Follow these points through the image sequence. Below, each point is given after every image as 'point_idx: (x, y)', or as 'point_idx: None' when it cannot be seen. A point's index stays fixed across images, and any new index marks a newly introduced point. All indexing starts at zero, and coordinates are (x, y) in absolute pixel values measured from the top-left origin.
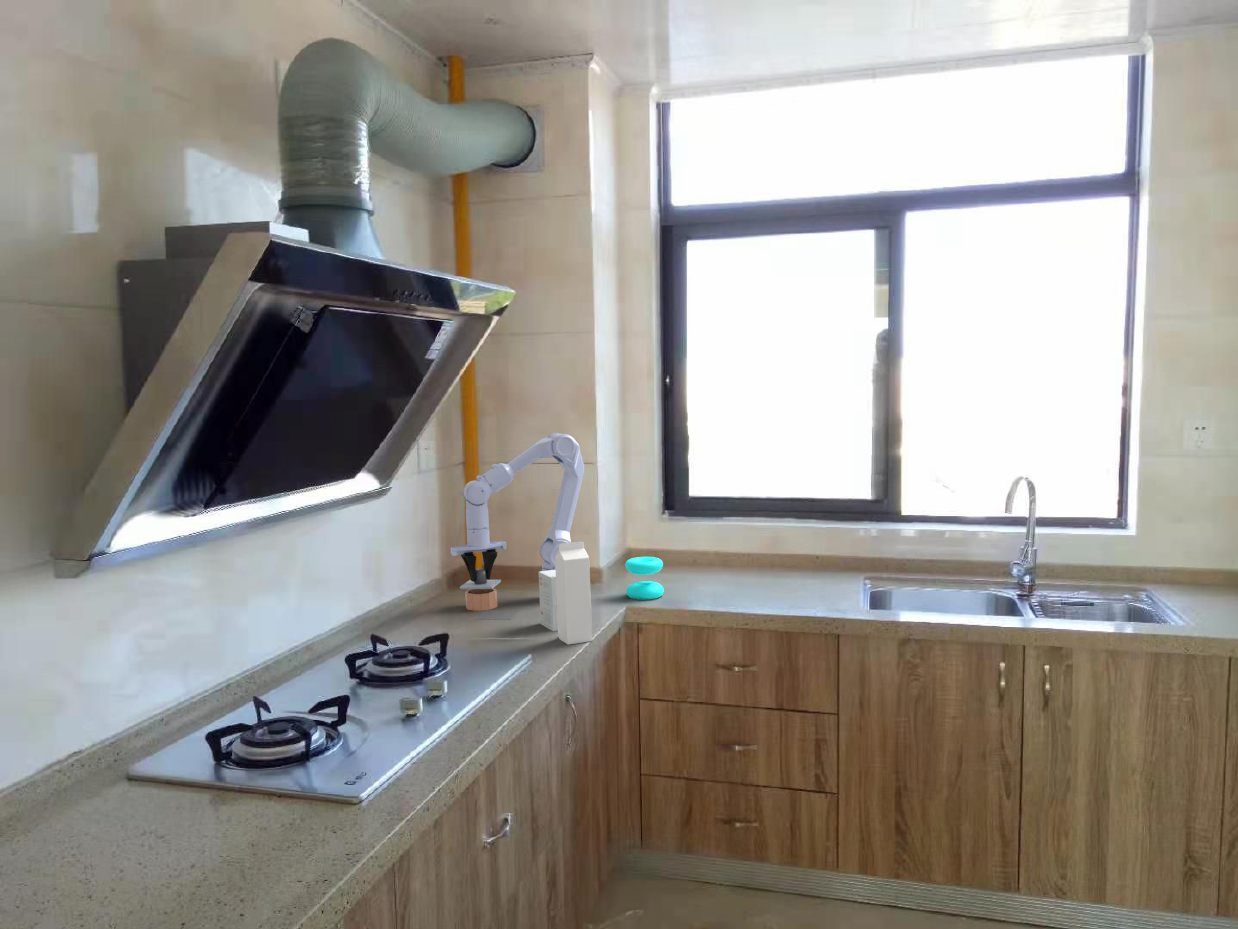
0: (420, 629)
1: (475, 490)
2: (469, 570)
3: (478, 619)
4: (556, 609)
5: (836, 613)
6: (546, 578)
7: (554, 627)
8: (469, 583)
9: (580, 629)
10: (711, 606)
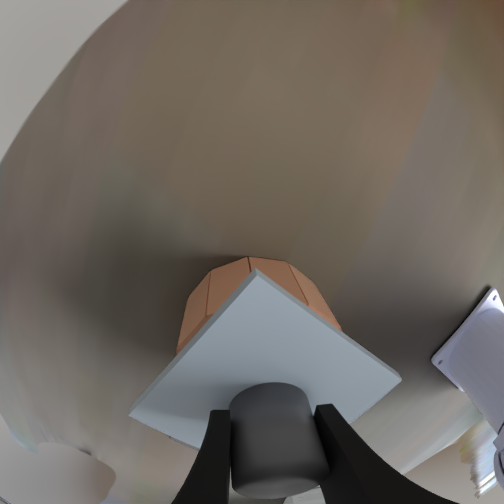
0: (33, 403)
1: None
2: (202, 470)
3: (179, 442)
4: None
5: (488, 469)
6: None
7: None
8: (204, 384)
9: None
10: (492, 442)
